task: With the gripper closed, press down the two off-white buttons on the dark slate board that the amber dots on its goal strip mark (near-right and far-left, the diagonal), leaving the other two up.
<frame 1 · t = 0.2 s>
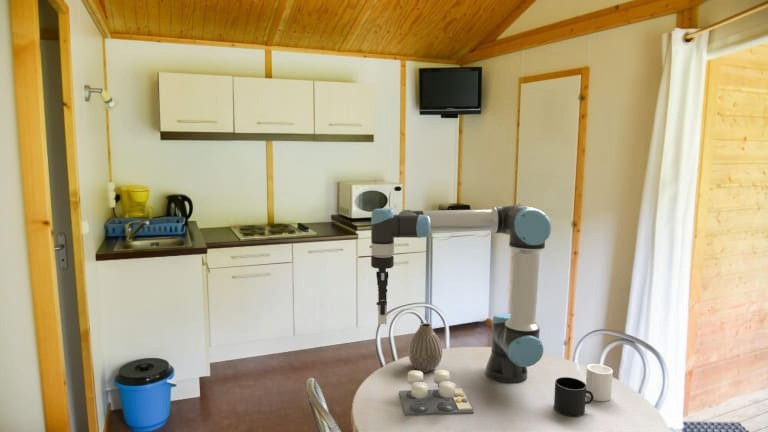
hand: (382, 317, 170), 27 cm above the table, fingers open, 13 cm apart
mug: (573, 410, 163), on the table
button c: (415, 380, 171), point 6 cm above the table, slide at 0.0 cm
button b: (447, 392, 163), point 6 cm above the table, slide at 0.0 cm
vase: (424, 369, 195), on the table
mug 2: (594, 393, 175), on the table
board: (434, 402, 168), on the table
button d: (419, 392, 162), point 6 cm above the table, slide at 0.0 cm
button a: (441, 379, 172), point 6 cm above the table, slide at 0.0 cm
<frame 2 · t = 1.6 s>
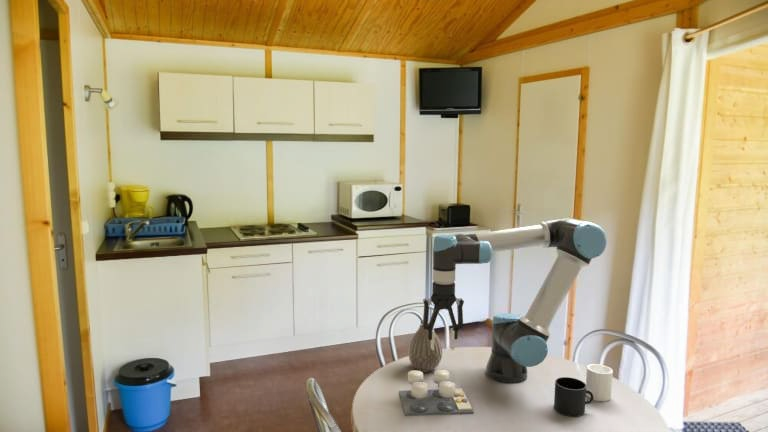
hand: (442, 348, 171), 17 cm above the table, fingers open, 6 cm apart
nothing on the table moved.
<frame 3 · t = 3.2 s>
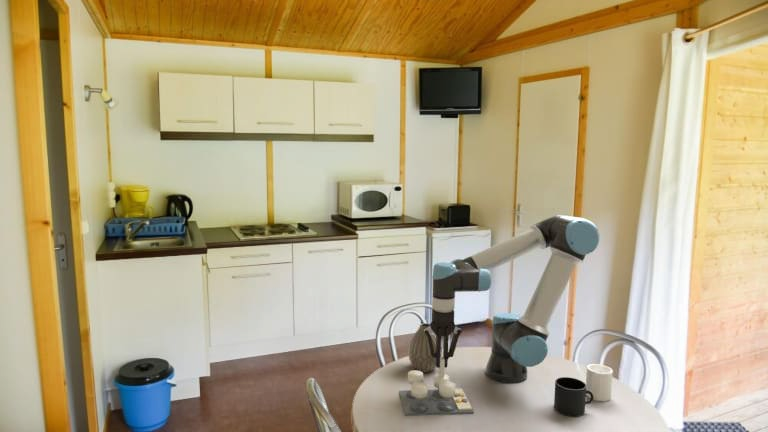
hand: (441, 376, 172), 7 cm above the table, fingers closed
button a: (441, 383, 172), point 4 cm above the table, slide at 1.5 cm, touching gripper
everything else where it was.
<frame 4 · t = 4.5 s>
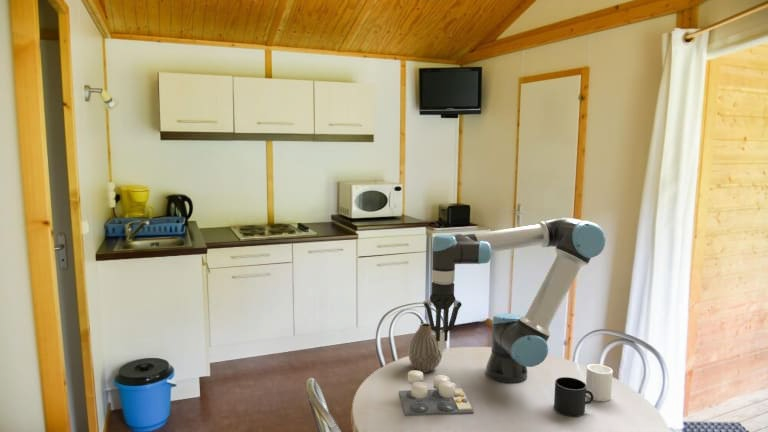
hand: (441, 349, 170), 16 cm above the table, fingers closed
button a: (441, 385, 172), point 4 cm above the table, slide at 2.0 cm
everything else where it was.
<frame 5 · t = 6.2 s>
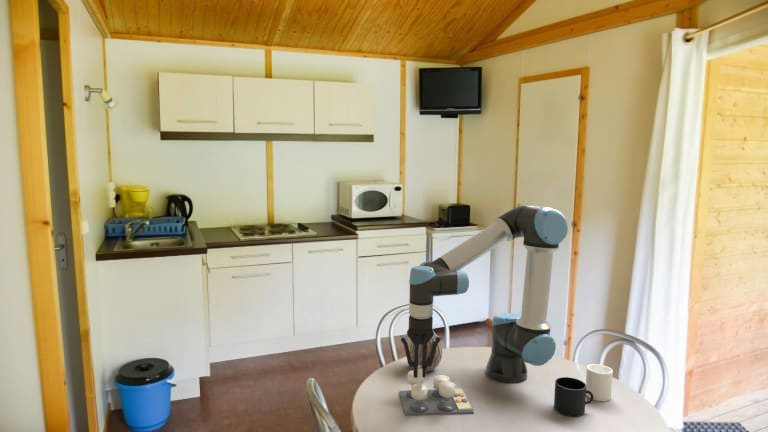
hand: (419, 386, 162), 8 cm above the table, fingers closed
button d: (419, 394, 162), point 5 cm above the table, slide at 0.6 cm, touching gripper
everything else where it was.
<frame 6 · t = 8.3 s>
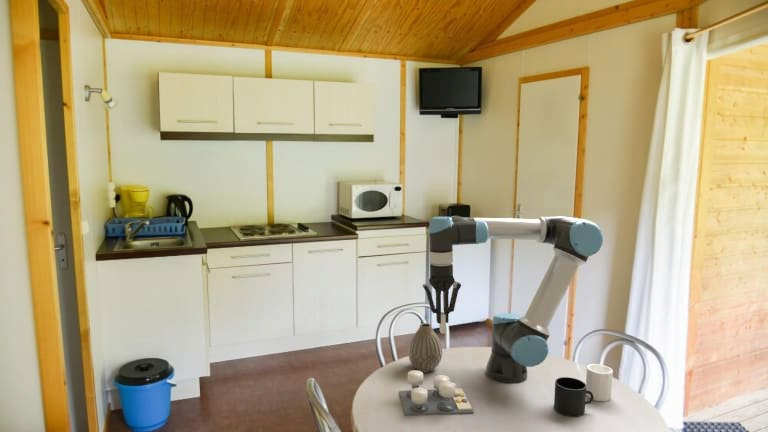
hand: (442, 332, 169), 23 cm above the table, fingers closed
button d: (419, 398, 162), point 4 cm above the table, slide at 2.0 cm
everything else where it was.
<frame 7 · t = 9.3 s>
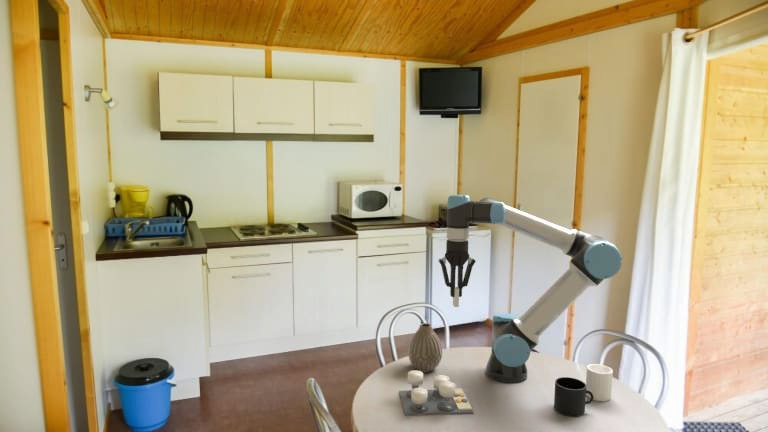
hand: (455, 305, 177), 29 cm above the table, fingers closed
nothing on the table moved.
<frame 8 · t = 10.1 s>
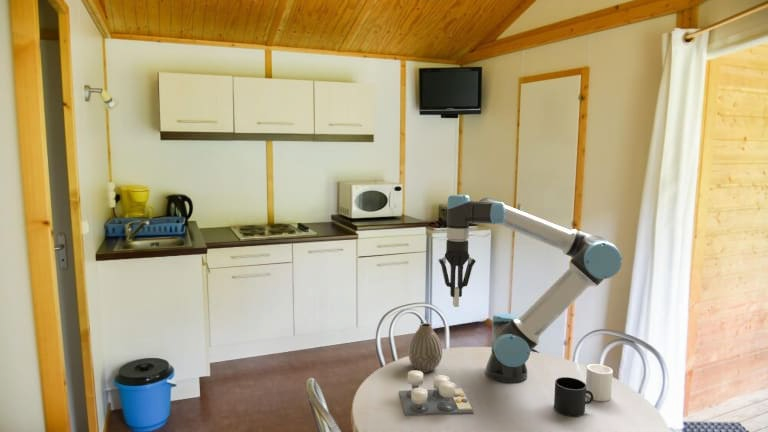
hand: (455, 305, 177), 29 cm above the table, fingers closed
nothing on the table moved.
at the end: button a slide at 2.0 cm; button d slide at 2.0 cm; button b slide at 0.0 cm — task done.
